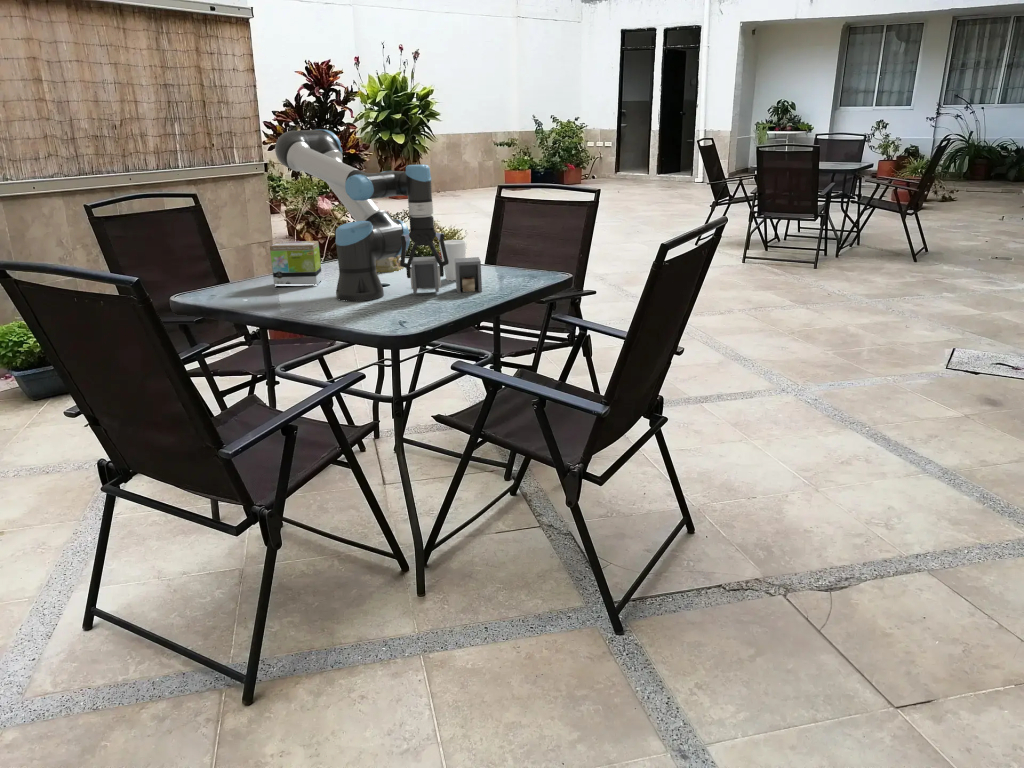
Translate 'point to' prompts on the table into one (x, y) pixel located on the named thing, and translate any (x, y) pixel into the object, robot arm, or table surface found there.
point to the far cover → (468, 271)
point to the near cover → (424, 273)
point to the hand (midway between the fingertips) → (426, 287)
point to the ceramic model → (388, 264)
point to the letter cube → (468, 283)
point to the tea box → (296, 262)
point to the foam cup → (453, 256)
